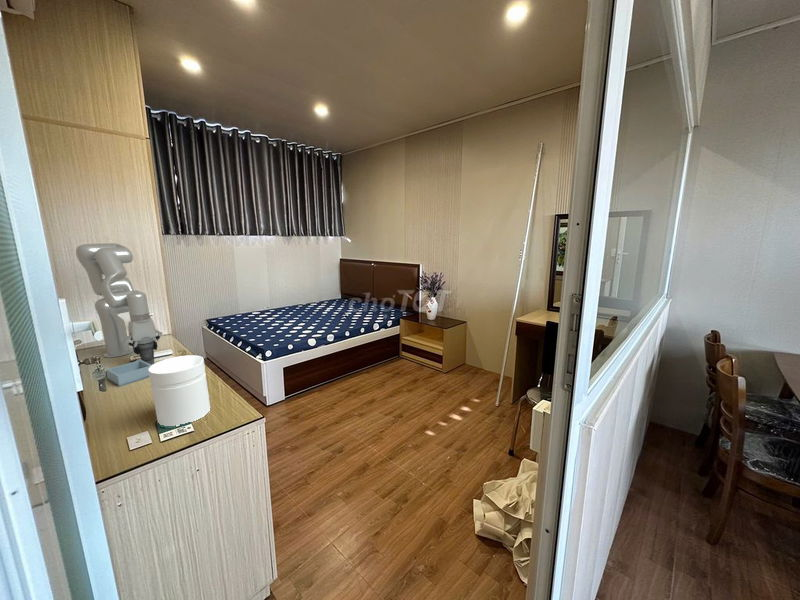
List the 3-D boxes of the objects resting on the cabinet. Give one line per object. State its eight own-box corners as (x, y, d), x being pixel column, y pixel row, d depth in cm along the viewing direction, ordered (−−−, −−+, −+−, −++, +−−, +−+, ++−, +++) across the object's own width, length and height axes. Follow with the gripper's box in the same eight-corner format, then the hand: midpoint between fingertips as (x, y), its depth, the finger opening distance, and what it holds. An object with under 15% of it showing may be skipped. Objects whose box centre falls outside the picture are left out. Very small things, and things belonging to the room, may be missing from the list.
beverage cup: (149, 366, 158) (142, 328, 153) (135, 366, 158) (128, 328, 154) (161, 361, 165) (154, 324, 161) (147, 361, 165) (140, 324, 161)
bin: (108, 379, 144) (106, 369, 143) (142, 369, 155) (140, 359, 154) (119, 386, 137) (117, 376, 136) (154, 375, 148) (153, 365, 147)
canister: (153, 416, 115) (143, 364, 111) (202, 399, 126) (195, 351, 122) (163, 434, 104) (153, 378, 100) (217, 414, 116) (209, 363, 112)
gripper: (157, 312, 165) (162, 345, 169) (114, 320, 151) (121, 355, 155) (163, 314, 161) (169, 347, 165) (121, 322, 147) (128, 358, 151)
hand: (146, 351), depth 160 cm, fingers closed on beverage cup, 6 cm apart
